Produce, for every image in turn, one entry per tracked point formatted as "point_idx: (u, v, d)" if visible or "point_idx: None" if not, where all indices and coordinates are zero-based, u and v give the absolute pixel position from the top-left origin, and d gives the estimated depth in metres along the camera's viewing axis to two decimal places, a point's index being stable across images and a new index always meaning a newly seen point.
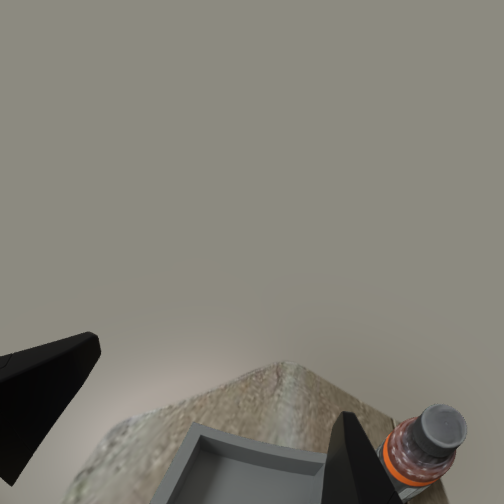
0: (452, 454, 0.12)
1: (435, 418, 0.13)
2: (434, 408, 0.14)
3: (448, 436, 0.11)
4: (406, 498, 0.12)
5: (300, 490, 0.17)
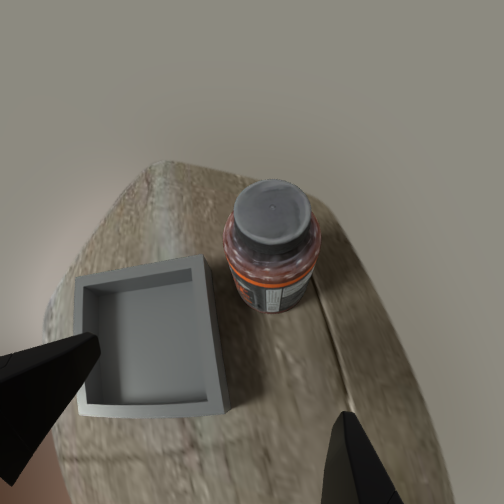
0: (308, 243, 0.16)
1: (254, 203, 0.15)
2: (254, 188, 0.15)
3: (275, 227, 0.14)
4: (284, 297, 0.19)
5: (189, 300, 0.23)
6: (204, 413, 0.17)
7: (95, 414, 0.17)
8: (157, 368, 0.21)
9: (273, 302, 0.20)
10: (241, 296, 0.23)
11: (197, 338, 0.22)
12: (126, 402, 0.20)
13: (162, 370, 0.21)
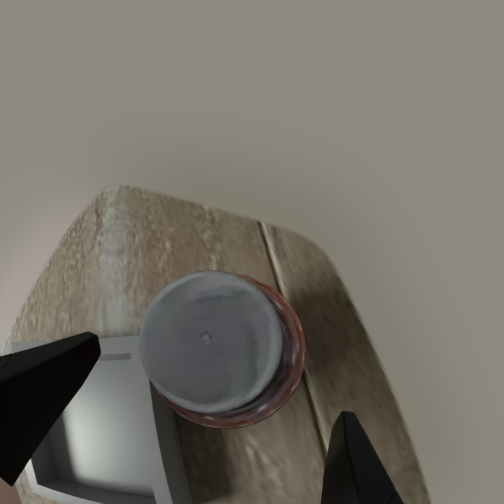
0: (279, 379, 0.08)
1: (173, 326, 0.07)
2: (175, 293, 0.08)
3: (208, 381, 0.07)
4: None
5: None
6: None
7: (47, 496, 0.10)
8: (107, 456, 0.14)
9: None
10: None
11: None
12: (79, 483, 0.12)
13: (112, 459, 0.14)
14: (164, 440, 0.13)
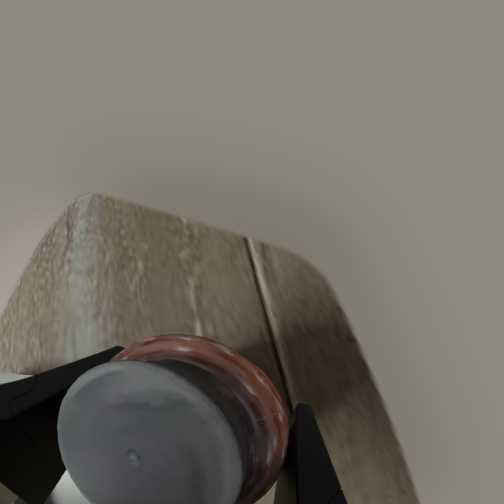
0: (248, 484, 0.05)
1: (91, 434, 0.04)
2: (91, 389, 0.04)
3: None
4: None
5: None
6: None
7: None
8: None
9: None
10: None
11: None
12: None
13: None
14: None
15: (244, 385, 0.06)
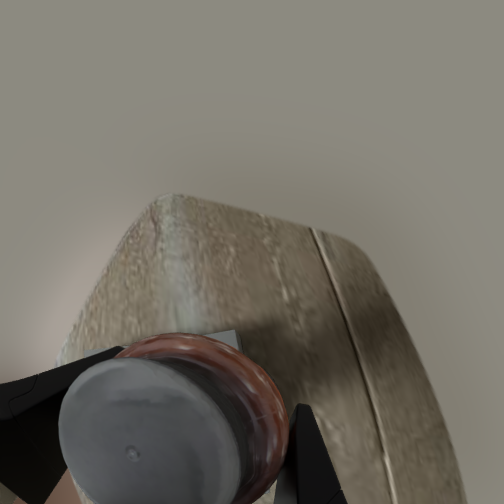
0: (248, 483, 0.05)
1: (92, 431, 0.04)
2: (92, 386, 0.04)
3: (141, 503, 0.03)
4: None
5: None
6: None
7: None
8: None
9: None
10: None
11: None
12: None
13: None
14: None
15: (244, 383, 0.06)
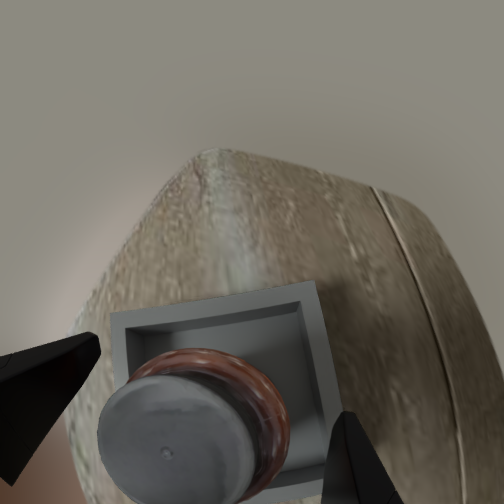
0: (257, 474, 0.06)
1: (130, 437, 0.05)
2: (130, 400, 0.06)
3: (173, 494, 0.05)
4: None
5: (286, 341, 0.17)
6: None
7: None
8: None
9: None
10: None
11: (300, 391, 0.15)
12: None
13: None
14: None
15: (253, 391, 0.08)
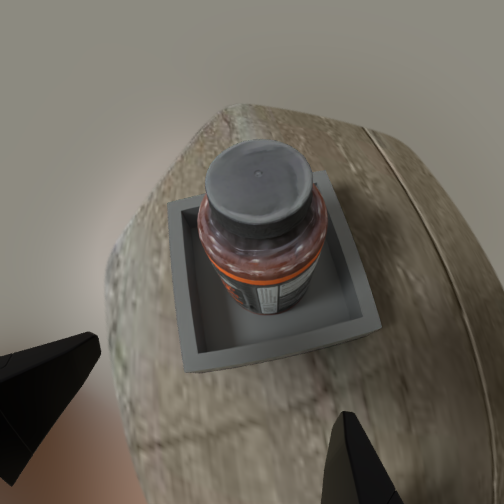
0: (311, 223, 0.11)
1: (233, 169, 0.10)
2: (233, 151, 0.11)
3: (262, 199, 0.10)
4: (283, 295, 0.15)
5: None
6: (361, 331, 0.16)
7: (212, 366, 0.16)
8: None
9: (269, 303, 0.16)
10: (230, 295, 0.19)
11: (323, 260, 0.21)
12: None
13: None
14: None
15: None
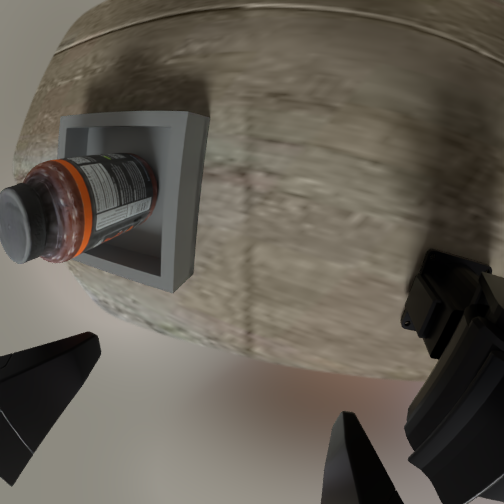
0: (48, 187, 0.11)
1: (7, 241, 0.11)
2: (0, 235, 0.11)
3: (19, 232, 0.10)
4: (118, 202, 0.15)
5: (101, 138, 0.20)
6: (182, 133, 0.16)
7: (172, 270, 0.19)
8: None
9: (127, 211, 0.17)
10: (130, 229, 0.20)
11: (131, 135, 0.19)
12: None
13: None
14: None
15: (27, 177, 0.12)
